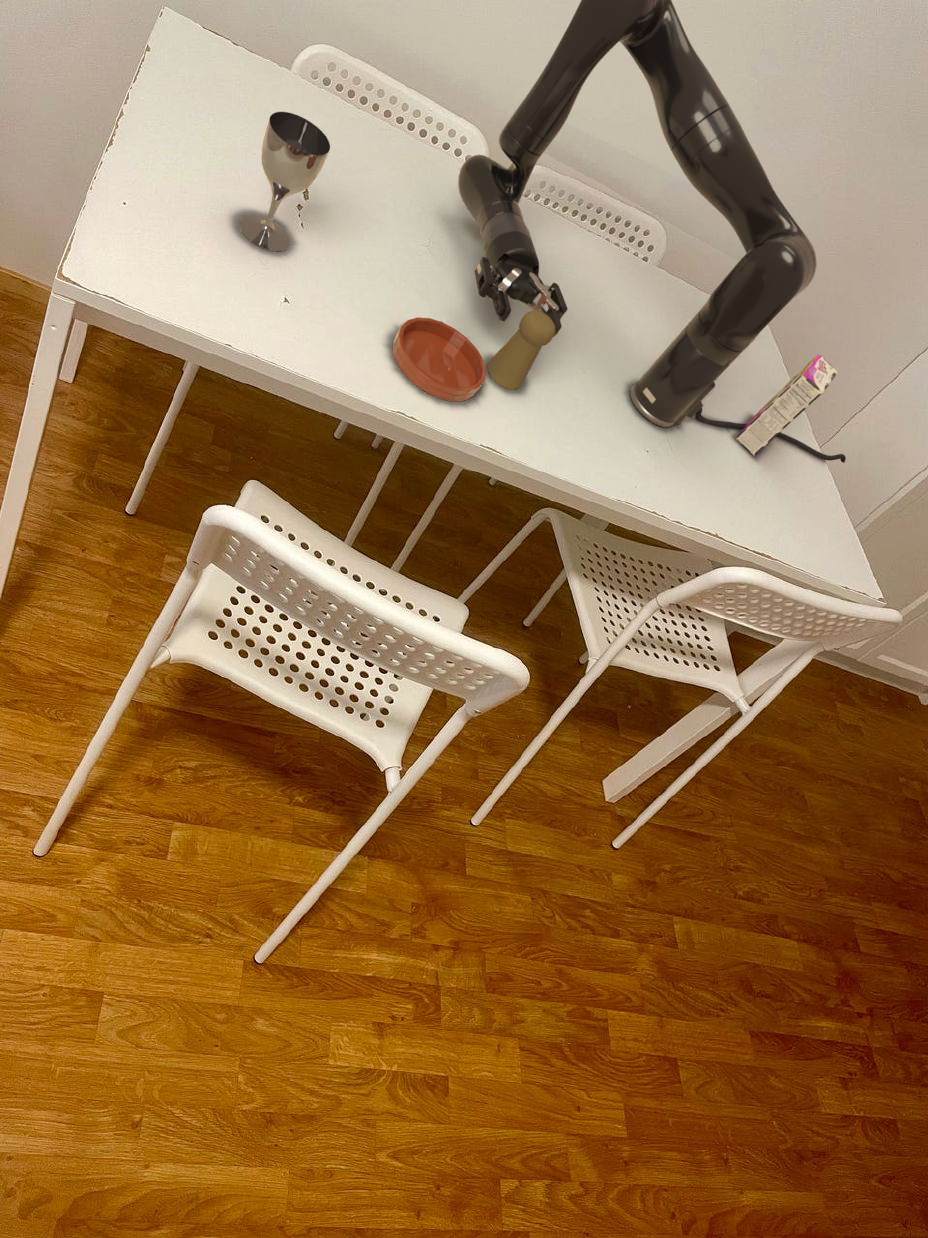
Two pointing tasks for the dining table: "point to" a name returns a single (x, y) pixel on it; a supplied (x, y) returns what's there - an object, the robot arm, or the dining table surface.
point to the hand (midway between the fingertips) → (530, 324)
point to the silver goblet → (285, 172)
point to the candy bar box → (787, 404)
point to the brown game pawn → (521, 350)
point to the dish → (439, 359)
